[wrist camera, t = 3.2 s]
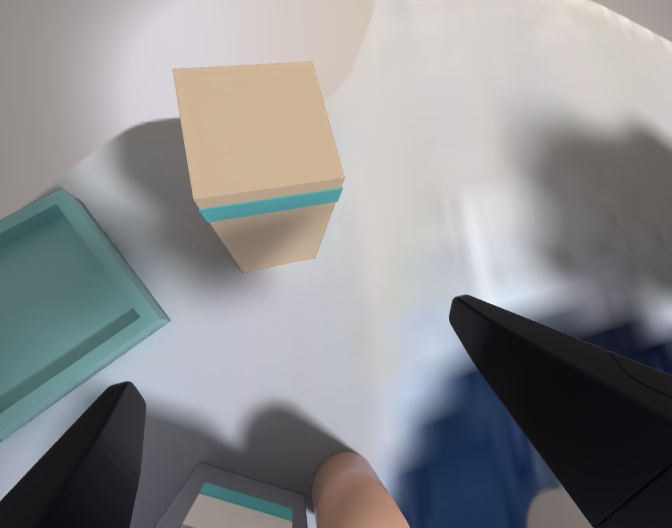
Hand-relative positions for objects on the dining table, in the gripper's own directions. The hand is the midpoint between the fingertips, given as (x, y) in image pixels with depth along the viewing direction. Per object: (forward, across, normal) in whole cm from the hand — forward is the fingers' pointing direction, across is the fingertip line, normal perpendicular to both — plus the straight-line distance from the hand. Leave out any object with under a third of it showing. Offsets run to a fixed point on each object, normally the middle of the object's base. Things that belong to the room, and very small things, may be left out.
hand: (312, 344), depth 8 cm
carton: (+16, 0, +4) cm, 16 cm away
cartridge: (+2, -1, +17) cm, 17 cm away
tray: (+14, +15, +5) cm, 21 cm away
